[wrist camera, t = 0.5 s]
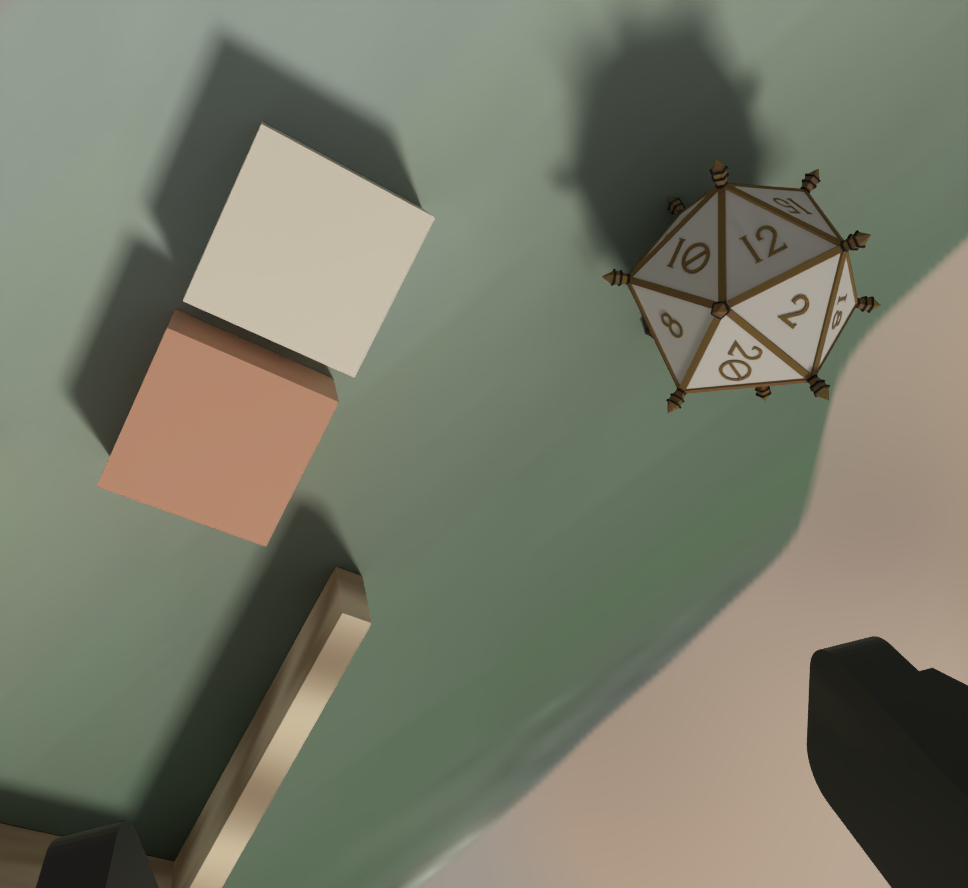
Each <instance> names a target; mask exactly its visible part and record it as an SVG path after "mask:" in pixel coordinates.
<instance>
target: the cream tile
mask: <svg viewBox="0 0 968 888" xmlns="http://www.w3.org/2000/svg"><path fill="white" fill-rule="evenodd" d="M434 219H435V217H434V216H432V215H431V214H430V213H428V212H427V211H426V210H424V209H423V208H421V207H419V206H418V205H416V204H414V203H412V202H410V201H408V200H406V199H405V198H403V197H401V196H399V195H397V194H395V193H394V192H392V191H390V190H388V189H386V188H384V187H382V186H381V185H379V184H377V183H375V182H373V181H371V180H369V179H368V178H366V177H364V176H362V175H360V174H358V173H357V172H355V171H353V170H351V169H349V168H347V167H345V166H344V165H342V164H340V163H338V162H336V161H334V160H332V159H331V158H329V157H327V156H325V155H323V154H321V153H320V152H318V151H316V150H314V149H312V148H310V147H308V146H307V145H305V144H303V143H301V142H299V141H297V140H295V139H294V138H292V137H290V136H288V135H286V134H284V133H283V132H281V131H279V130H277V129H275V128H273V127H271V126H270V125H268V124H266V123H264V122H261V124H260V126H259V128H258V131H257V133H256V135H255V137H254V140H253V142H252V144H251V146H250V149H249V151H248V153H247V155H246V158H245V160H244V162H243V164H242V167H241V169H240V171H239V173H238V176H237V178H236V180H235V182H234V184H233V187H232V189H231V191H230V193H229V196H228V198H227V200H226V202H225V205H224V207H223V209H222V211H221V214H220V216H219V218H218V220H217V223H216V225H215V227H214V229H213V232H212V234H211V236H210V238H209V241H208V243H207V245H206V247H205V250H204V252H203V254H202V256H201V259H200V261H199V263H198V265H197V268H196V270H195V272H194V274H193V277H192V279H191V281H190V283H189V286H188V288H187V291H186V294H185V296H184V299H183V302H186V303H188V304H190V305H192V306H195V307H197V308H199V309H201V310H204V311H206V312H208V313H210V314H213V315H215V316H217V317H219V318H222V319H224V320H226V321H228V322H230V323H233V324H235V325H237V326H239V327H242V328H244V329H246V330H248V331H251V332H253V333H255V334H257V335H260V336H262V337H264V338H266V339H269V340H271V341H273V342H275V343H278V344H280V345H282V346H284V347H287V348H289V349H291V350H293V351H296V352H298V353H300V354H302V355H304V356H307V357H309V358H311V359H313V360H316V361H318V362H320V363H322V364H325V365H327V366H329V367H331V368H334V369H336V370H338V371H340V372H343V373H345V374H347V375H349V376H352V377H354V378H355V376H356V374H357V372H358V370H359V368H360V366H361V364H362V362H363V360H364V358H365V356H366V354H367V352H368V350H369V348H370V346H371V344H372V342H373V340H374V338H375V336H376V334H377V332H378V330H379V328H380V326H381V324H382V322H383V320H384V318H385V316H386V314H387V312H388V310H389V308H390V306H391V304H392V302H393V300H394V298H395V296H396V294H397V292H398V291H399V289H400V287H401V285H402V283H403V281H404V279H405V277H406V275H407V273H408V271H409V269H410V267H411V265H412V263H413V261H414V259H415V257H416V255H417V253H418V251H419V249H420V247H421V245H422V243H423V241H424V239H425V237H426V235H427V233H428V231H429V229H430V227H431V225H432V223H433V221H434Z"/></svg>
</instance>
